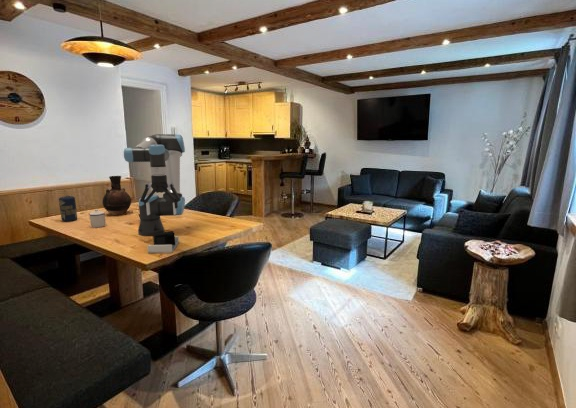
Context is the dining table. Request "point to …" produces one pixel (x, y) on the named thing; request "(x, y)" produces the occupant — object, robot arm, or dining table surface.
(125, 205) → the ceramic vessel
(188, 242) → the dining table surface
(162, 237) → the digital camera
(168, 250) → the cradle
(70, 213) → the canister
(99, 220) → the teacup with lid
